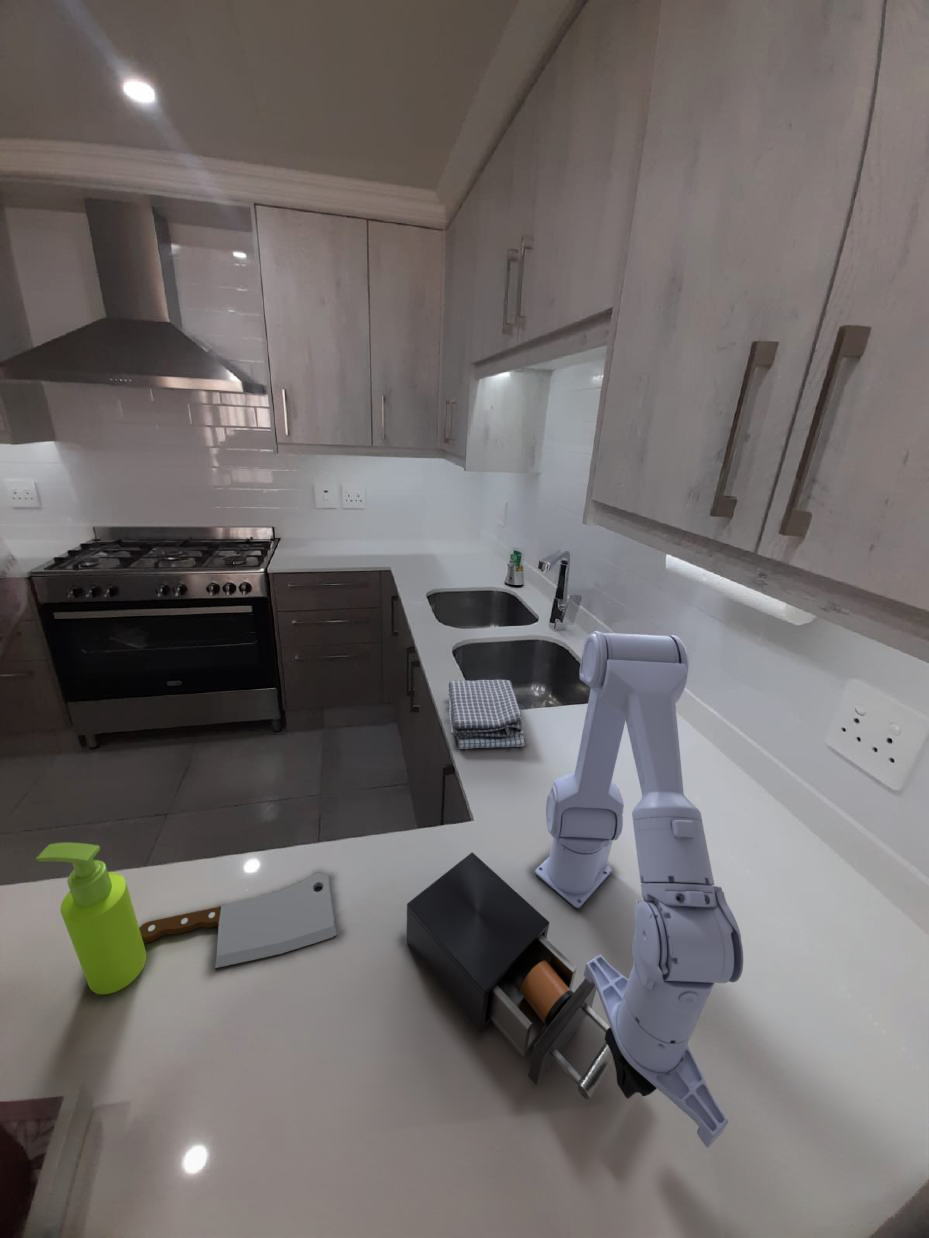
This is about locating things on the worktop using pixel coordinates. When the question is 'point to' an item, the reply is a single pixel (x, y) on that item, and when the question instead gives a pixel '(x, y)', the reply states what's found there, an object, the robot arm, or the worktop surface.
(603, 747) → the robot arm
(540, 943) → the drawer
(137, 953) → the soap dispenser
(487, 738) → the towel
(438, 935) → the black drawer cabinet
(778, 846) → the worktop surface
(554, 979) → the spice tin
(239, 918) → the kitchen cleaver
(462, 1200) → the worktop surface
